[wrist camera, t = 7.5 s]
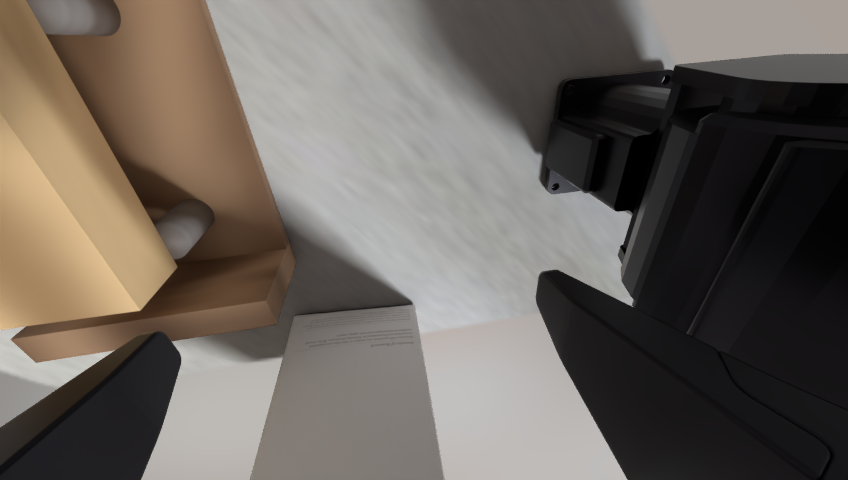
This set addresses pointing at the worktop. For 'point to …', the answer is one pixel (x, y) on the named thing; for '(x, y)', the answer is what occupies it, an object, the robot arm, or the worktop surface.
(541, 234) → the worktop surface
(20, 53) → the shelf board
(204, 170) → the peg frame
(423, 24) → the worktop surface
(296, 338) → the supplement box
